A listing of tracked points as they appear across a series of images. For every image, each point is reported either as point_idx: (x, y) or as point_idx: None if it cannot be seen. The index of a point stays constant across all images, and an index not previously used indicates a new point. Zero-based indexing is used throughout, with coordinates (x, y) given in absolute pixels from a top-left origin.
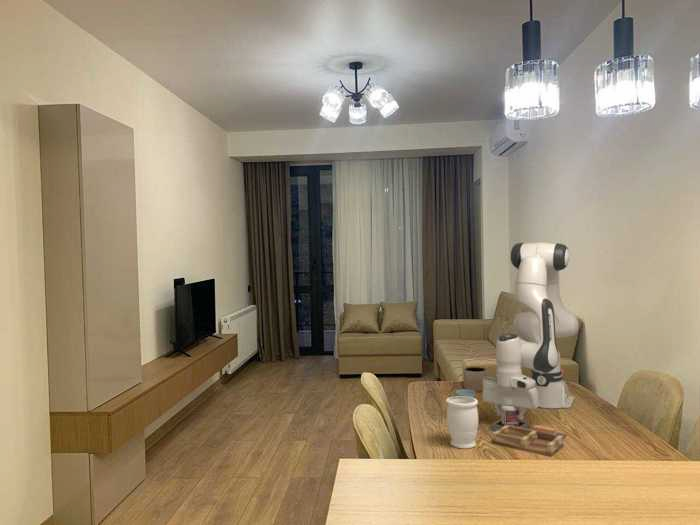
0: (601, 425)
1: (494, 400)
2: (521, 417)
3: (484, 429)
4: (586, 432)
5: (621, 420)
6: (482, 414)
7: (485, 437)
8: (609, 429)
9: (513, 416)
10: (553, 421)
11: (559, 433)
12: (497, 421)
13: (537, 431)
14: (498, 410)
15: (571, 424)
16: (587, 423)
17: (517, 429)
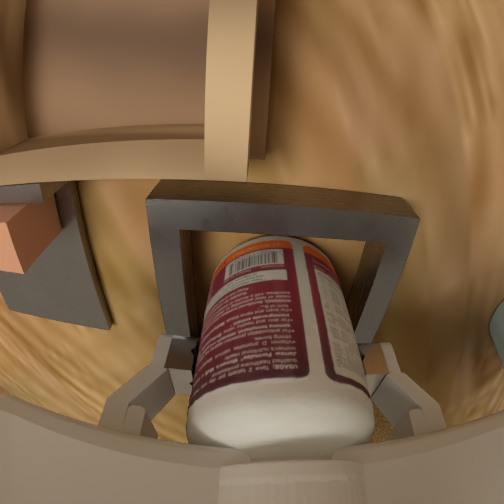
0: (50, 408)
1: (458, 454)
2: (156, 352)
3: (442, 192)
4: (20, 358)
5: None
6: (444, 381)
7: (386, 7)
8: (19, 388)
9: (216, 339)
10: (156, 419)
11: (28, 310)
12: (378, 309)
13: (3, 206)
14: (393, 380)
15: (97, 407)
16: (78, 416)
17: (105, 139)
